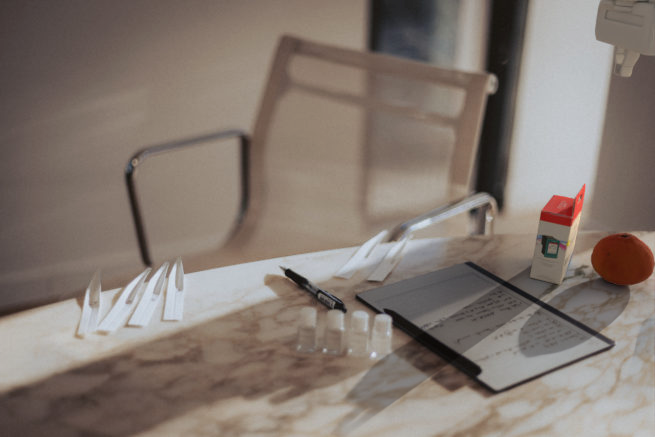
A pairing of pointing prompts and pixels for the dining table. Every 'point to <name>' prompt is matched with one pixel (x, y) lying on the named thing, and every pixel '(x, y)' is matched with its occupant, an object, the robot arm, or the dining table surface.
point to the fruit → (622, 259)
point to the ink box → (556, 237)
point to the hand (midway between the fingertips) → (621, 75)
